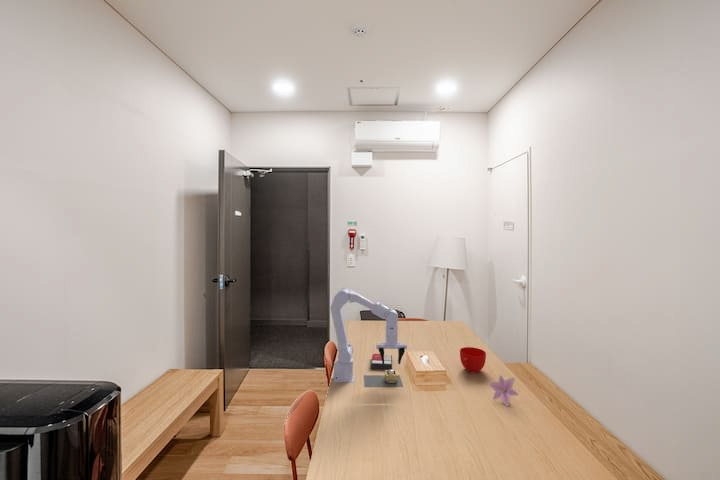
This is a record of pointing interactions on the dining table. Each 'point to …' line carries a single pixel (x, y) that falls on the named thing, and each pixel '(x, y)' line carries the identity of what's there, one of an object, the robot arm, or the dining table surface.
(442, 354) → the dining table surface
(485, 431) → the dining table surface
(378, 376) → the mat
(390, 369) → the silver disc with post
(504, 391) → the lily
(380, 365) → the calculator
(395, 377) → the bronze square frame
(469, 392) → the dining table surface
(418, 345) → the dining table surface
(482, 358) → the ceramic cup
